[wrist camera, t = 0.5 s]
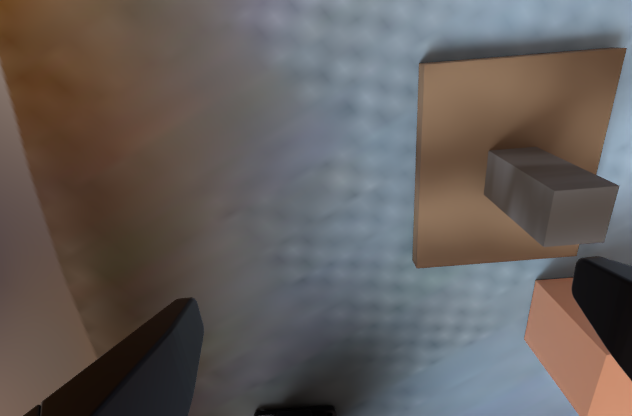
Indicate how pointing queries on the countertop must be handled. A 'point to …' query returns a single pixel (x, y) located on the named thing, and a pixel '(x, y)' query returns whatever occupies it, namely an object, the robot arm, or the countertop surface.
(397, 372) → the countertop surface
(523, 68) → the stand
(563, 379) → the salmon orange block
